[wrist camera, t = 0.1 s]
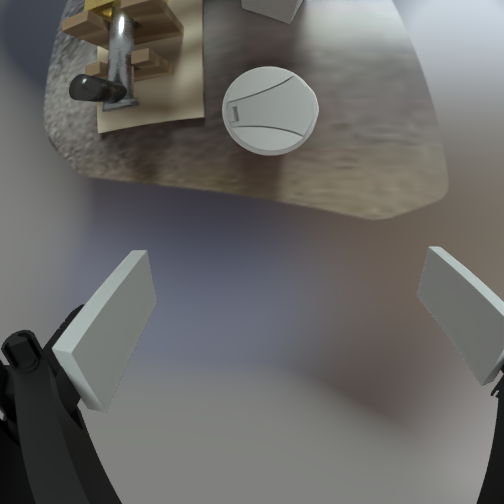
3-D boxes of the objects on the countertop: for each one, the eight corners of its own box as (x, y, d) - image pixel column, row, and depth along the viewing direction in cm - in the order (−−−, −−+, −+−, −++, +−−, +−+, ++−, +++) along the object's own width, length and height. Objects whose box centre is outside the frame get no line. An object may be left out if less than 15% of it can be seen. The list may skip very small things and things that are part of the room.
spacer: (114, 14, 24) (86, -4, 16) (168, 0, 24) (149, -25, 16) (112, 28, 25) (83, 12, 17) (167, 14, 25) (147, -10, 17)
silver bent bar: (118, -3, 21) (77, -33, 11) (149, -12, 21) (115, -49, 11) (113, 112, 28) (61, 111, 18) (145, 106, 28) (100, 98, 18)
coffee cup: (239, 152, 36) (229, 163, 23) (229, 94, 33) (212, 71, 19) (300, 143, 36) (328, 151, 22) (291, 86, 32) (313, 59, 19)
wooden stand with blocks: (104, 14, 26) (55, -14, 13) (204, -10, 26) (183, -59, 13) (102, 133, 35) (42, 140, 22) (205, 117, 34) (178, 109, 22)
